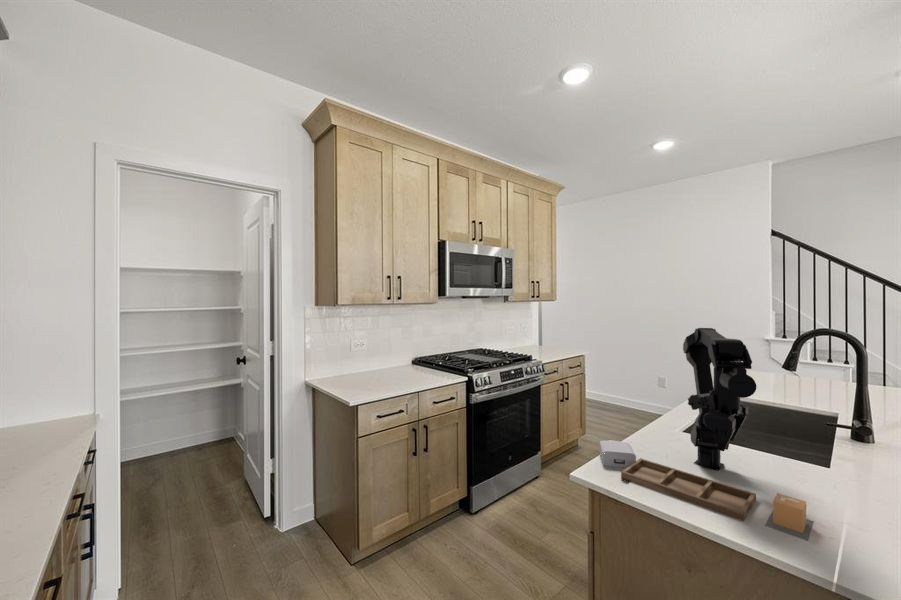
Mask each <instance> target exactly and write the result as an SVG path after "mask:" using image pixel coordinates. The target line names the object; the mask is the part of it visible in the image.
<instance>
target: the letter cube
mask: <svg viewBox="0 0 901 600" xmlns="http://www.w3.org/2000/svg"><path fill="white" fill-rule="evenodd" d="M772 511H773V523H775V524H777V525H780V526H783V527H786V528H789V529H792V530H795V531H798V532H801V533H803V532H804V529H805V526H806V519H807V500H802V499H799V498H796V497H794V496H793V497H792V496H789V495H785V494H782V493H779V492H777V493H776V494H775V496H774V498H773V500H772Z"/></svg>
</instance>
